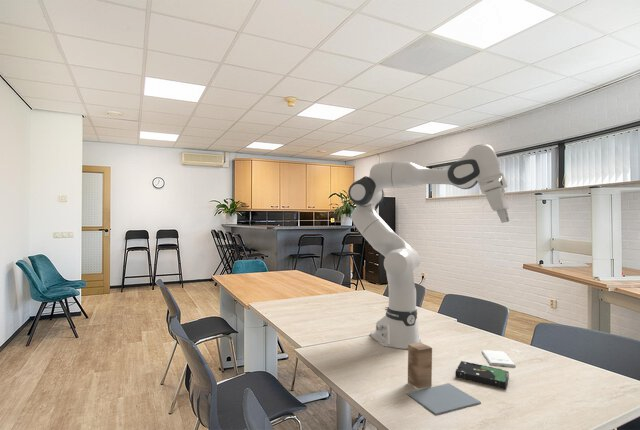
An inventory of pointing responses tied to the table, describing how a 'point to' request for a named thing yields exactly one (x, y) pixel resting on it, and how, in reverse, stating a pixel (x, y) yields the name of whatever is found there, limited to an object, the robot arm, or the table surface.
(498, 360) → the external hard drive
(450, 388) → the rubber mat
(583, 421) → the table surface
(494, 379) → the disk drive
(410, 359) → the walnut block
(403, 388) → the table surface
